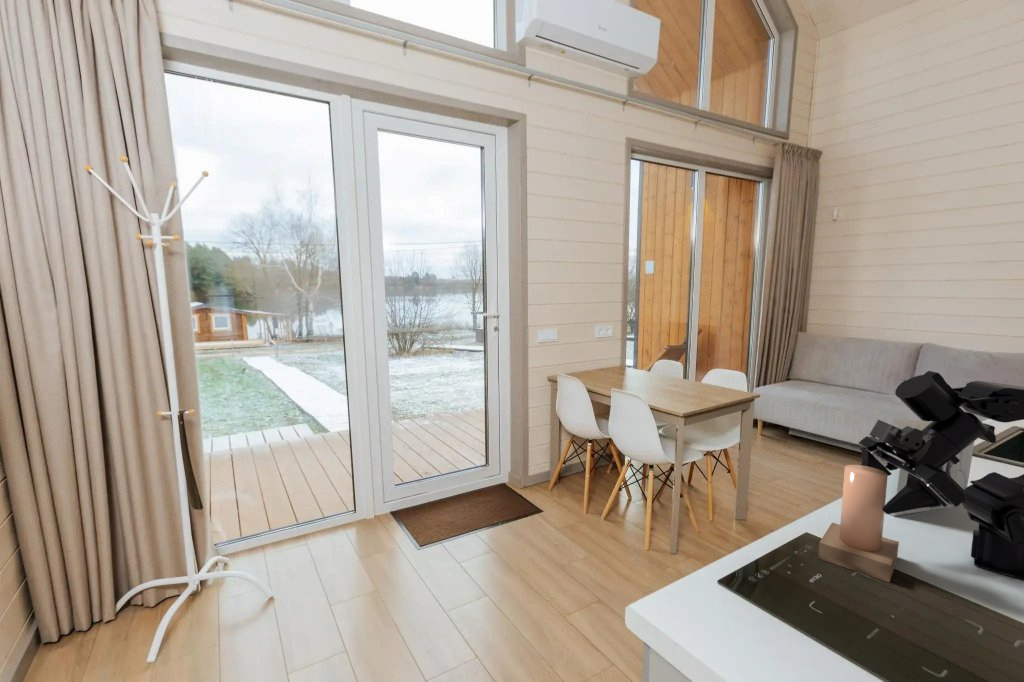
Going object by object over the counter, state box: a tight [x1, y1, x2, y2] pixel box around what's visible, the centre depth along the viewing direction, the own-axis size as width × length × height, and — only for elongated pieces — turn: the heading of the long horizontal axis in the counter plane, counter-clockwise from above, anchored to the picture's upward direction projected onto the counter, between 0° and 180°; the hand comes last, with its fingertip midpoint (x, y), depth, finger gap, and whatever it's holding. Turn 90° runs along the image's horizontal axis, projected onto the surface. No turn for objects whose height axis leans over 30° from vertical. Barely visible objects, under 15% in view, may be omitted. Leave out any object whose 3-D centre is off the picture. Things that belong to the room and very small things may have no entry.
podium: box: [817, 522, 900, 583], centre depth 85 cm, size 10×10×3 cm
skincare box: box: [885, 440, 976, 517], centre depth 104 cm, size 21×5×16 cm, turn 105°
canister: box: [839, 464, 888, 551], centre depth 84 cm, size 6×6×13 cm
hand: (867, 499), depth 83 cm, fingers open, 9 cm apart
